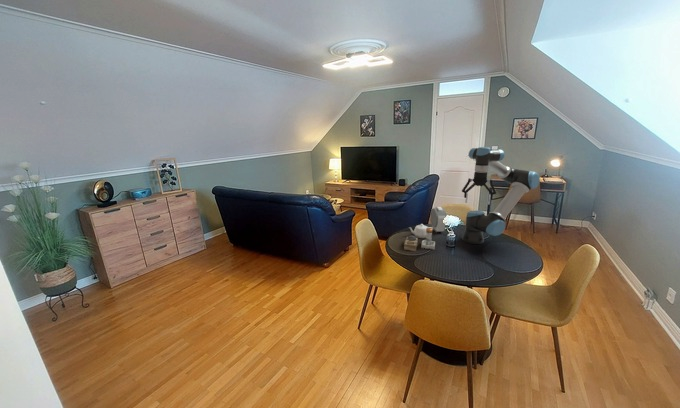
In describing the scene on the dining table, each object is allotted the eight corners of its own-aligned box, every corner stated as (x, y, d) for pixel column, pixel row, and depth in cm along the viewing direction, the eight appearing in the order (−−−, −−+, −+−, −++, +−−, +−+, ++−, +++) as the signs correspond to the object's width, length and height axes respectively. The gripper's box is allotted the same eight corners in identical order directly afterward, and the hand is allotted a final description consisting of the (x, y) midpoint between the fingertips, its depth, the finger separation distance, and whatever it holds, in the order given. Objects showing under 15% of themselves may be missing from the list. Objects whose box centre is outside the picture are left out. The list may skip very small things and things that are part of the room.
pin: (425, 244, 203) (426, 227, 200) (431, 244, 202) (432, 228, 198) (424, 246, 199) (426, 229, 196) (431, 247, 198) (432, 230, 194)
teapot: (411, 239, 213) (411, 227, 210) (405, 233, 225) (406, 222, 222) (435, 238, 215) (436, 226, 212) (429, 232, 227) (430, 220, 224)
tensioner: (406, 241, 210) (407, 233, 208) (417, 243, 207) (417, 235, 205) (403, 249, 197) (404, 240, 195) (415, 250, 194) (415, 242, 192)
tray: (422, 243, 206) (422, 240, 206) (434, 244, 203) (435, 241, 203) (421, 248, 198) (421, 244, 198) (434, 249, 195) (434, 246, 195)
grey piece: (446, 234, 222) (448, 210, 217) (435, 234, 222) (437, 210, 217) (438, 226, 240) (440, 204, 234) (428, 226, 240) (430, 204, 234)
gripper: (460, 171, 178) (457, 203, 184) (504, 173, 169) (499, 206, 175) (459, 170, 184) (456, 200, 190) (502, 171, 176) (497, 203, 182)
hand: (477, 203), depth 183 cm, fingers open, 13 cm apart
